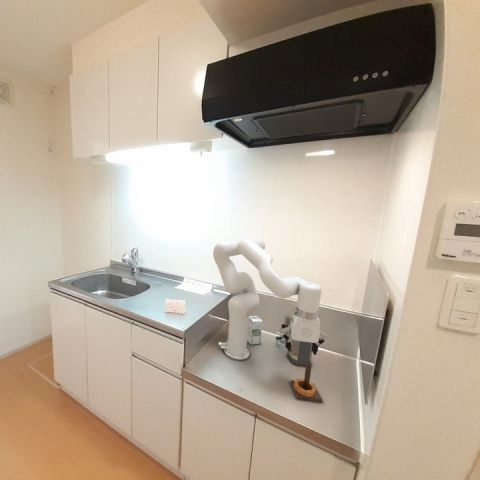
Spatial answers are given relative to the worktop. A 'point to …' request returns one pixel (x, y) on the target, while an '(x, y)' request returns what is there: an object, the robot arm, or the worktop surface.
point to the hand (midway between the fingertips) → (300, 351)
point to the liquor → (300, 352)
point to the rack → (307, 386)
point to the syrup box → (254, 330)
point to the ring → (300, 390)
